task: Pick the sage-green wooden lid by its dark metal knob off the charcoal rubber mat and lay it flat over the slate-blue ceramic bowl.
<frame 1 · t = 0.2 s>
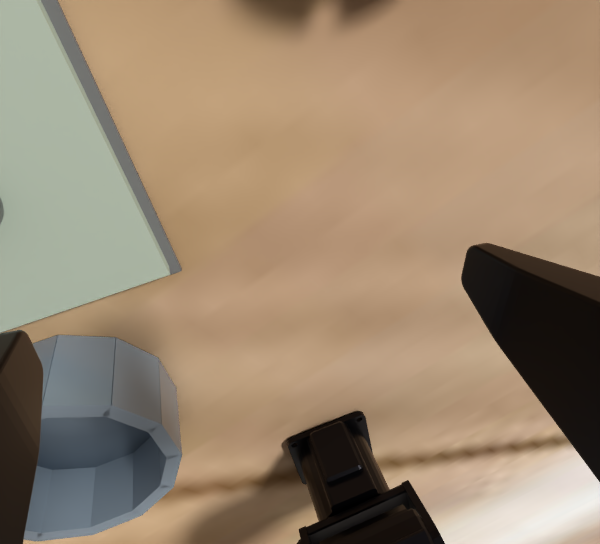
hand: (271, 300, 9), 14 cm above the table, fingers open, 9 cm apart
bowl: (80, 405, 28), on the table
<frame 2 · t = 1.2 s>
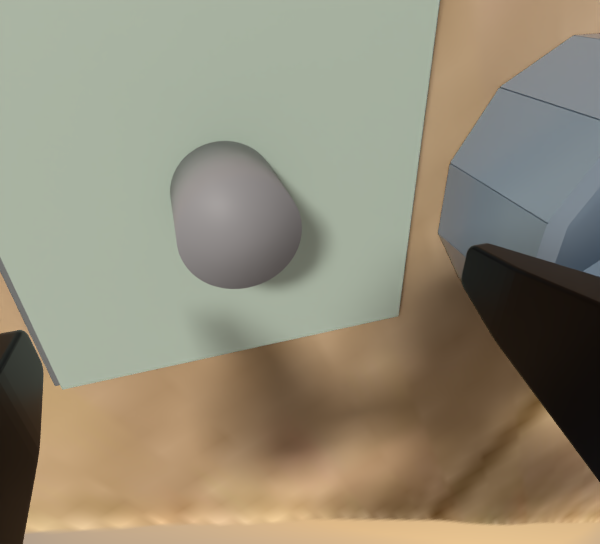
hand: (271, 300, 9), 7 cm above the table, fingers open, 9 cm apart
lid: (221, 183, 14), resting on mat
mat: (219, 179, 15), on the table
bowl: (560, 181, 19), on the table
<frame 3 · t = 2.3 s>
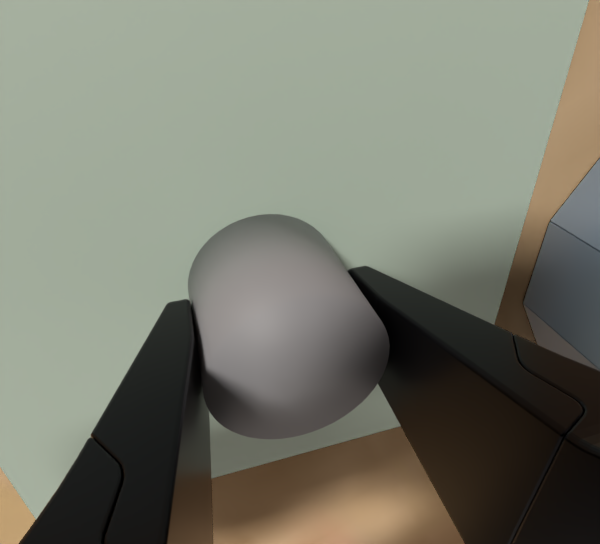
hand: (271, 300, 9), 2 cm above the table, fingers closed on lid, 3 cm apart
lid: (256, 262, 10), resting on mat, touching gripper
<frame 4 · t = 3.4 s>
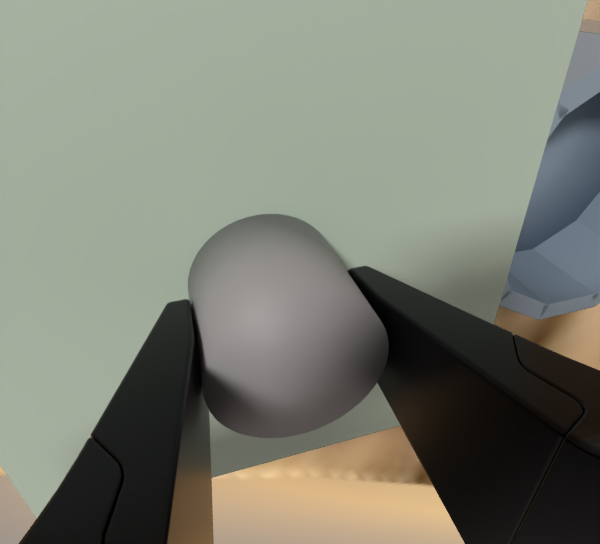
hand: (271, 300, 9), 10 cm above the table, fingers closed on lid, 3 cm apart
lid: (256, 262, 10), point 8 cm above the table, touching gripper
bowl: (522, 156, 21), on the table
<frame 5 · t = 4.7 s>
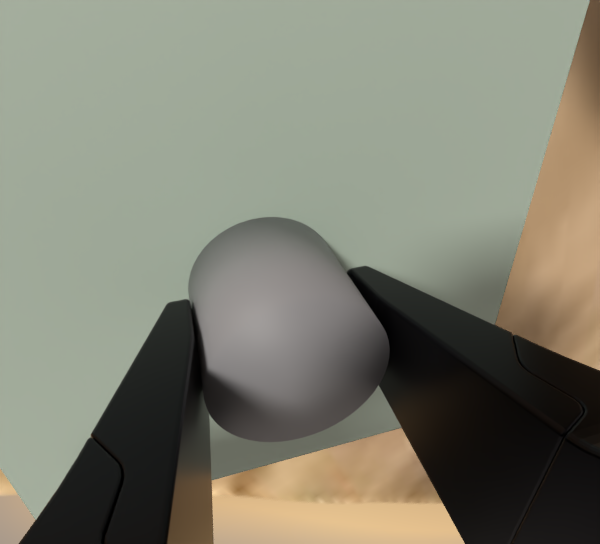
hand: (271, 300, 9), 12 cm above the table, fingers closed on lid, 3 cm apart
lid: (256, 264, 10), point 10 cm above the table, touching gripper
when the fingers open (8 cm above the table, at t = 5.9 s): lid drops 1 cm, resting on bowl.
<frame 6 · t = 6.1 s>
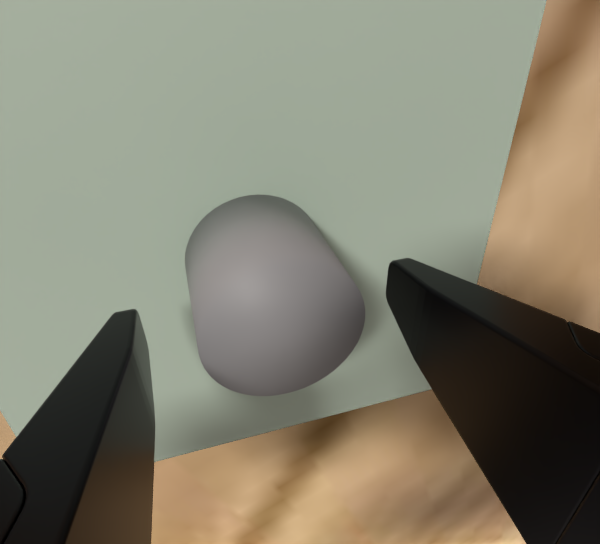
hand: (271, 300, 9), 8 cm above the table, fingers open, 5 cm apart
lid: (248, 241, 11), point 5 cm above the table, touching bowl
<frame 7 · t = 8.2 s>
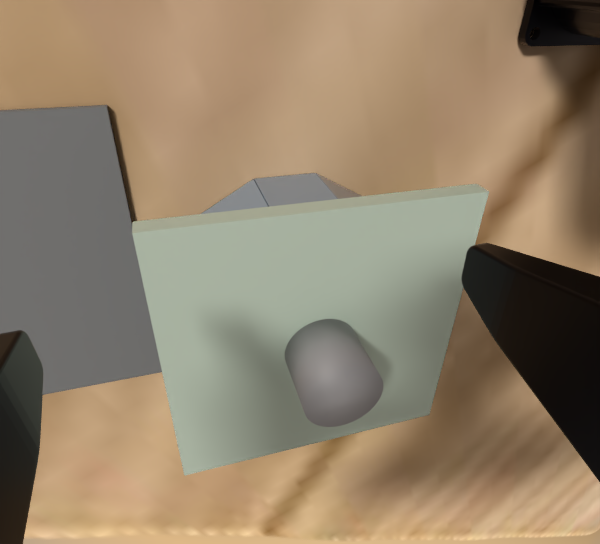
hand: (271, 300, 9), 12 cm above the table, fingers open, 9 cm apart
lid: (315, 336, 20), point 5 cm above the table, touching bowl
bowl: (285, 274, 24), on the table
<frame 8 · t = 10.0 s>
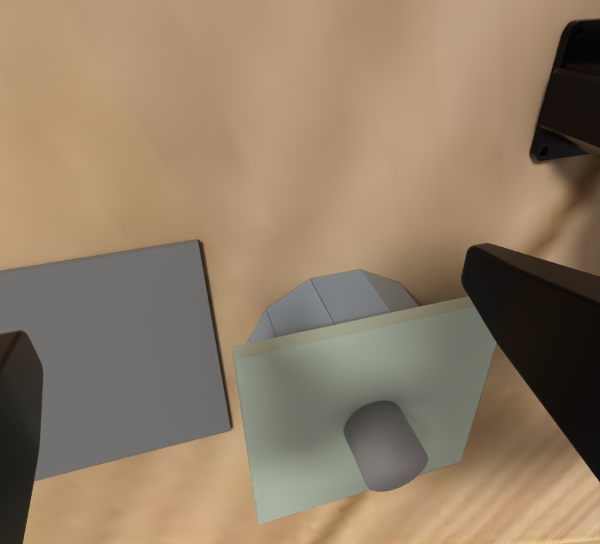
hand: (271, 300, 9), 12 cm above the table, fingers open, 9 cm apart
lid: (366, 410, 24), point 5 cm above the table, touching bowl
mat: (83, 376, 24), on the table
bowl: (333, 347, 28), on the table
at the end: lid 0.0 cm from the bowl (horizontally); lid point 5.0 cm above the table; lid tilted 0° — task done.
